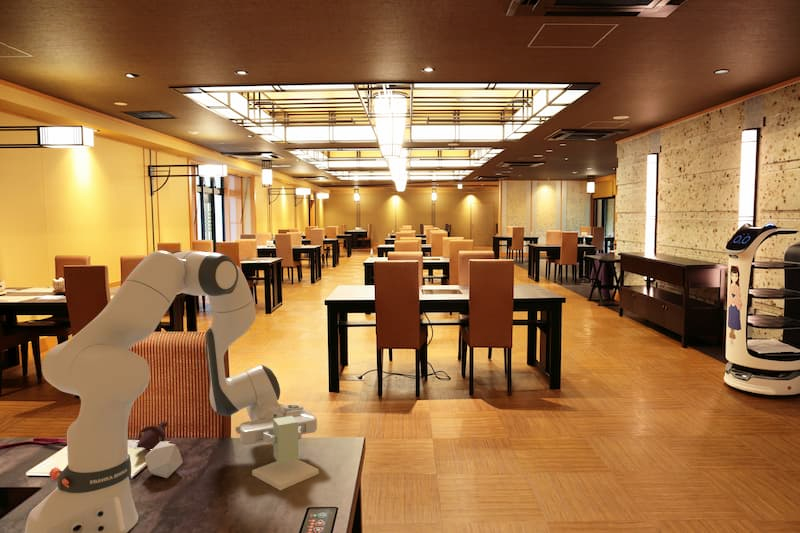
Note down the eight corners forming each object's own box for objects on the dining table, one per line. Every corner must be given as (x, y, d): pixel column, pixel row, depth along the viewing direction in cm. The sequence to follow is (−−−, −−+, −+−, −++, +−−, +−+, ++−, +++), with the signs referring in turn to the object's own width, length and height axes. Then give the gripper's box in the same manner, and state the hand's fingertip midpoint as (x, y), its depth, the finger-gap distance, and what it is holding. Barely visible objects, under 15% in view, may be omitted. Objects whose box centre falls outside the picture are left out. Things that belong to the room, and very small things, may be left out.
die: (190, 473, 141) (183, 437, 145) (175, 470, 133) (168, 432, 137) (159, 485, 141) (153, 449, 145) (142, 483, 133) (136, 445, 137)
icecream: (154, 437, 147) (179, 422, 162) (128, 430, 147) (155, 415, 162) (147, 462, 147) (173, 444, 162) (121, 454, 147) (149, 437, 162)
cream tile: (280, 490, 131) (280, 485, 131) (252, 474, 139) (252, 470, 139) (318, 473, 140) (318, 469, 140) (290, 459, 148) (290, 455, 148)
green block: (279, 464, 136) (278, 425, 135) (273, 456, 140) (273, 418, 140) (298, 460, 138) (297, 421, 138) (292, 452, 143) (292, 415, 142)
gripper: (233, 415, 145) (245, 433, 133) (307, 404, 155) (324, 419, 143) (234, 438, 146) (245, 458, 134) (307, 425, 155) (324, 443, 143)
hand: (286, 438), depth 138 cm, fingers closed on green block, 5 cm apart
